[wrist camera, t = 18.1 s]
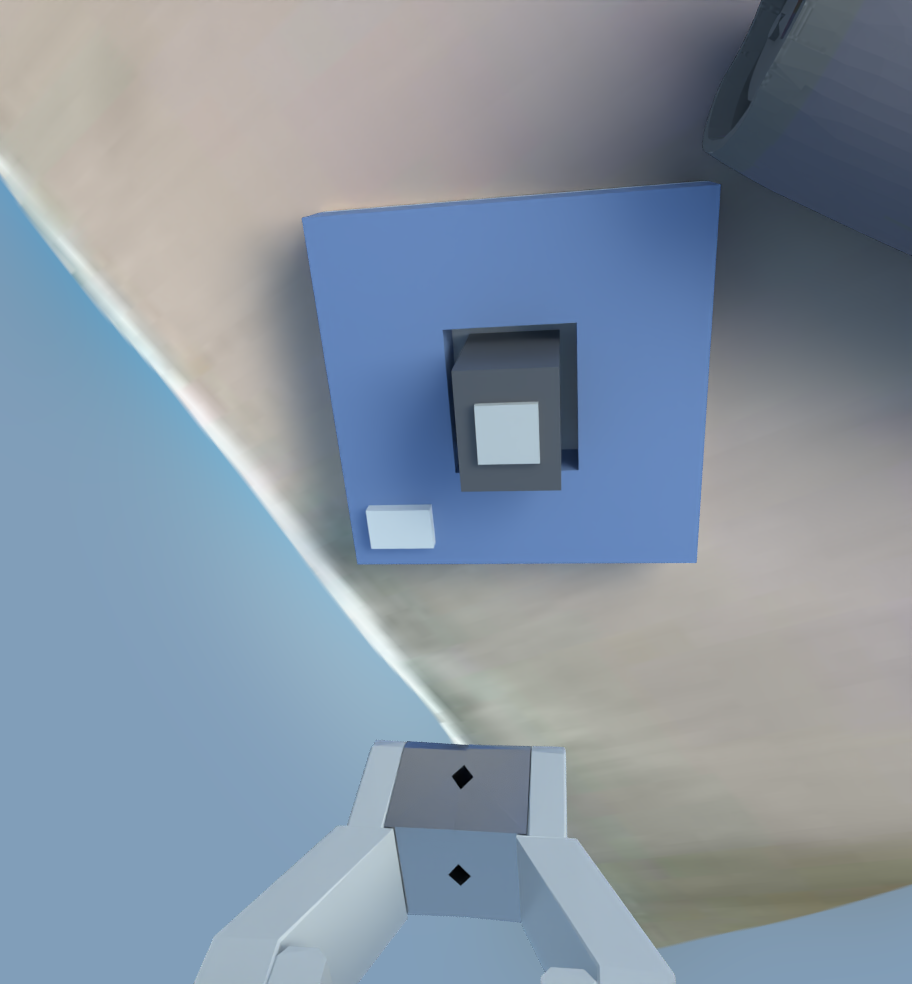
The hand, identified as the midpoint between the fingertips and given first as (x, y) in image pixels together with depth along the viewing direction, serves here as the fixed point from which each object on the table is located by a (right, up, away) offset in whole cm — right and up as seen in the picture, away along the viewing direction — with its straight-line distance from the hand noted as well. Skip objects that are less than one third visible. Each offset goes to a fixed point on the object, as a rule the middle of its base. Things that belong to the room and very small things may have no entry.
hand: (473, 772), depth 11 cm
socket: (+3, +10, +23) cm, 25 cm away
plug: (+2, +9, +22) cm, 24 cm away
